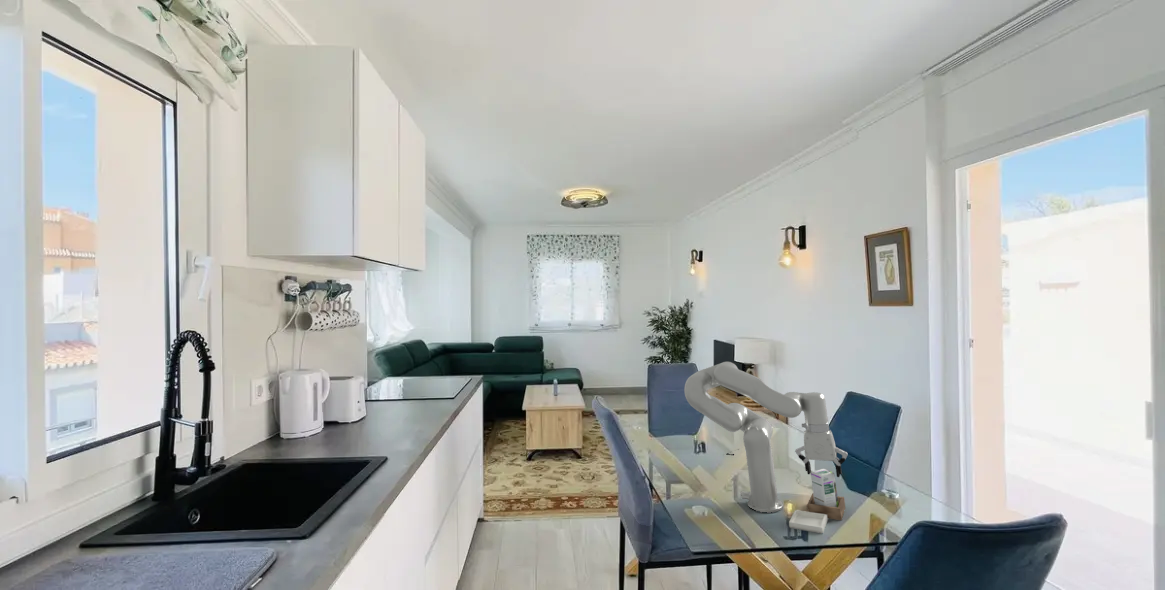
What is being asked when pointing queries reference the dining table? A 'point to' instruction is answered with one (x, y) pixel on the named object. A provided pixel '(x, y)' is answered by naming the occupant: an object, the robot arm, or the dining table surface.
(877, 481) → the dining table surface
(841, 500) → the holder collar
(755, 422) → the robot arm
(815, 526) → the parts tray
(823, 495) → the syrup box
